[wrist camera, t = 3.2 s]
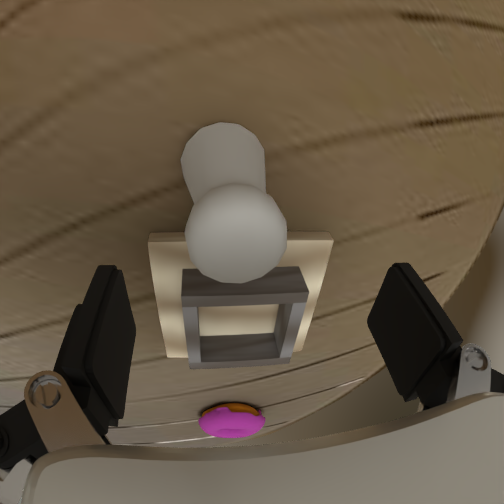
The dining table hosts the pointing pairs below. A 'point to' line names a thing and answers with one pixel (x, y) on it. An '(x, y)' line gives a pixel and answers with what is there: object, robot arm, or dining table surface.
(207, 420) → the donut
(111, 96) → the dining table surface
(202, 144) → the salt shaker
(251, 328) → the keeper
